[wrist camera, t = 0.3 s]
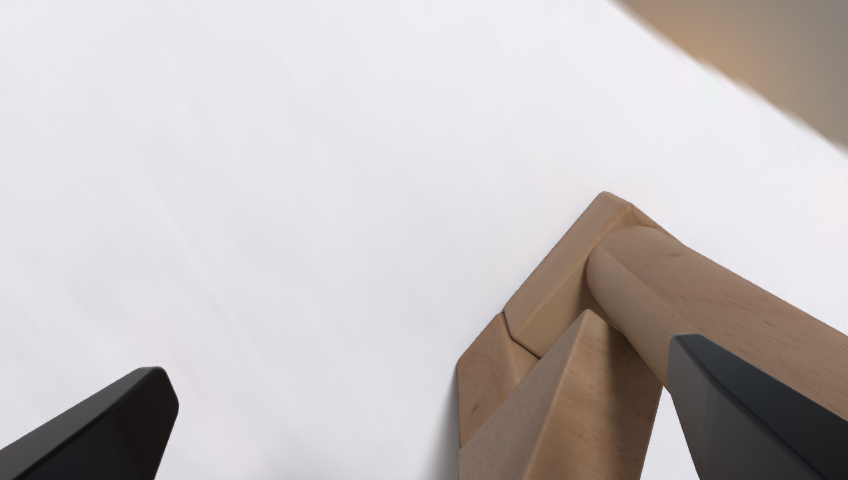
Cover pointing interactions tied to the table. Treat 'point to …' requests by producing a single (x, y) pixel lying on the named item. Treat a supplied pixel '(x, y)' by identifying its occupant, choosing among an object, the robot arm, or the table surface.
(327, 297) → the table surface
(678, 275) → the wooden block
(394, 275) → the table surface
